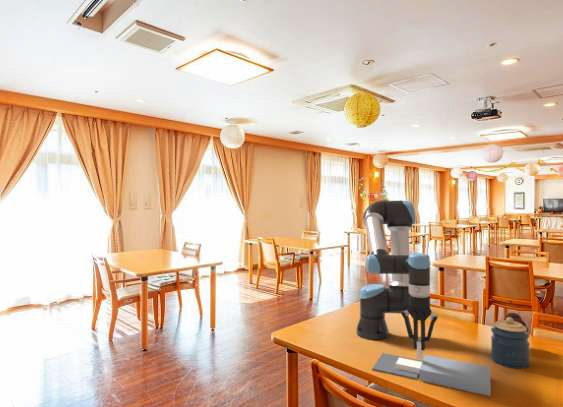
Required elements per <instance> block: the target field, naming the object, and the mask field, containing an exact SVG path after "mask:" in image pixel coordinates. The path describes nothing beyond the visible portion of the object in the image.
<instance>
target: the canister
mask: <svg viewBox="0 0 563 407" xmlns="http://www.w3.org/2000/svg"><path fill="white" fill-rule="evenodd" d="M492 324H493V327H491V329H490V331H491V333H492V335H491V337H490V340H491V352H490V356H491V359H492V361H493V362H495V363H497V364H499V365H502V366H504V367H507V368H512V369H526V368H528V367H529V365H530V363H531V362H530V360H531V359H530V341H529V338H530V333H529V332H528V333H527V332H526V330H527V328H528V327H527V326H526V327H527V328H526V327H525V326H523V325H522V324H521V323H519V322H516V321H514V320H513V319H512V318H511V317H507V318H506V320H503V319H499V320H497V321H495V322H493V323H492Z"/></svg>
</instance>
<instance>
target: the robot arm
mask: <svg viewBox="0 0 563 407" xmlns="http://www.w3.org/2000/svg"><path fill="white" fill-rule="evenodd" d="M362 223H363V225H364V227H365V229H366V237H367V243H368V250H369V254H367V255H366V257H365V264H366V265H365V266H366V271H367V273H369V274H377V275H378V274H379V275H380V274H382V275H385V274H386V275H387V274H388V275H389V274H391V282H389V283H388V288H386V286H385V285H384V284H380V283H373V284H372V283H371V284H366V285H364V286H362V287H361V288H360V290H359V291H360V292H359V318H358V322H357V326H356V335H357V336H359V337H361V338H363V339H367V340H375V341H376V340H384V339H387V338H389V336H390V332H389V331H390V330H389V327H388V324H387V320H386V314H399V315H400V314H401V316H402V317H403V319H404V325H405V328H406V331H407V335H408V338H409V339H411V340H413V349H414V350H416V360H421V361H422V358H423V351H425V349H426V342H430V340H431V337H432V334H433V330H434V326H435V323H436V322H437V320H438V318H439V317H438V316H439V315H437V314H435V313H433V311H432V310H431V297H430V296H431V259H430V257H431V256H430V255H429V254H427V253H420V252H415V253H410V250H411V249H410V230H411V229H412V228H413V225H415V224H416V210H415V207H414V205H413V203H412V202H411V201H409V200H378V201H377V200H376V201H375V202H373V203H371V204H370V205H368V206H367V208H365V210H364V212H363V214H362ZM383 225H386V226H387V227H386V228H387V230H389V232H390V250H391V251H390V252H391V254H389V251H388V246H387V241H386V237H385V236H386V235H385V231H384V228H383V227H384V226H383ZM409 315H410V316H411V319H413V321H412V322H413V328H412V325H411V321H410V318H409ZM429 317H430V320H431V321H430V324H429V325H428V330H427V334H426V321H427V319H429ZM419 321H420V338H419Z"/></svg>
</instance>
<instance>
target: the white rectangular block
mask: <svg viewBox="0 0 563 407" xmlns="http://www.w3.org/2000/svg"><path fill="white" fill-rule="evenodd" d="M421 364H422V362H419V361H414V360H409V359H404V358H398V360H397V362H396V369H399V370H404V371H409V372H413V373H418V374H419V369H420V367H421Z"/></svg>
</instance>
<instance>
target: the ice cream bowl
mask: <svg viewBox="0 0 563 407" xmlns="http://www.w3.org/2000/svg"><path fill="white" fill-rule="evenodd" d="M507 317H511V318H512V319H513V320H514V321H516V322H519V323H521V324H522V325H523V326H525V327H526V328H527V330H526V332H527V333H528V334H529V327H527V324H526V323H525V321H524V320H522V317H521V315H519V314H518V313H515V312H508V313H507V314H506V315H505V317H504V319H502V320H506V318H507Z"/></svg>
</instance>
